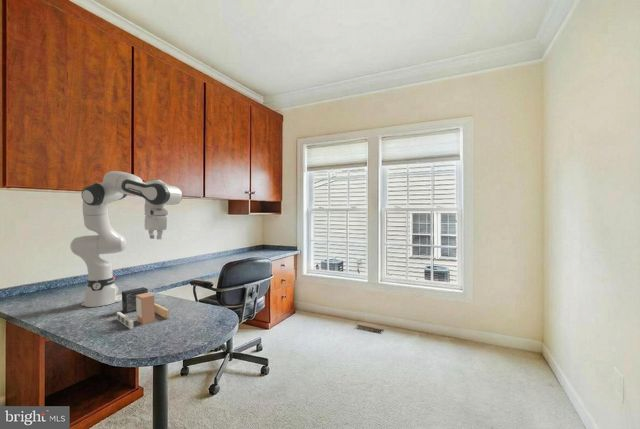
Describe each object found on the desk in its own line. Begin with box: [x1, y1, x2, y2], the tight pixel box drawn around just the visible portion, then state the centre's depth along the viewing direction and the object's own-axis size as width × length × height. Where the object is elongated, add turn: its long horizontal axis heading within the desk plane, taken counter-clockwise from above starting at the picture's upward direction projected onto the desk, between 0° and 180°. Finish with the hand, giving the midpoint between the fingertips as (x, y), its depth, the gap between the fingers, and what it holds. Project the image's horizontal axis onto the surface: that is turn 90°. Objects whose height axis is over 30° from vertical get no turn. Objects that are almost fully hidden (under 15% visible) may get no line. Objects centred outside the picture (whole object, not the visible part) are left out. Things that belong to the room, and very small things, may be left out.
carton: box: [135, 292, 156, 325], centre depth 135 cm, size 5×8×12 cm, turn 50°
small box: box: [121, 286, 149, 314], centre depth 152 cm, size 11×6×10 cm, turn 141°
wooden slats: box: [116, 302, 170, 330], centre depth 138 cm, size 20×16×4 cm
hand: (155, 239), depth 148 cm, fingers open, 8 cm apart
